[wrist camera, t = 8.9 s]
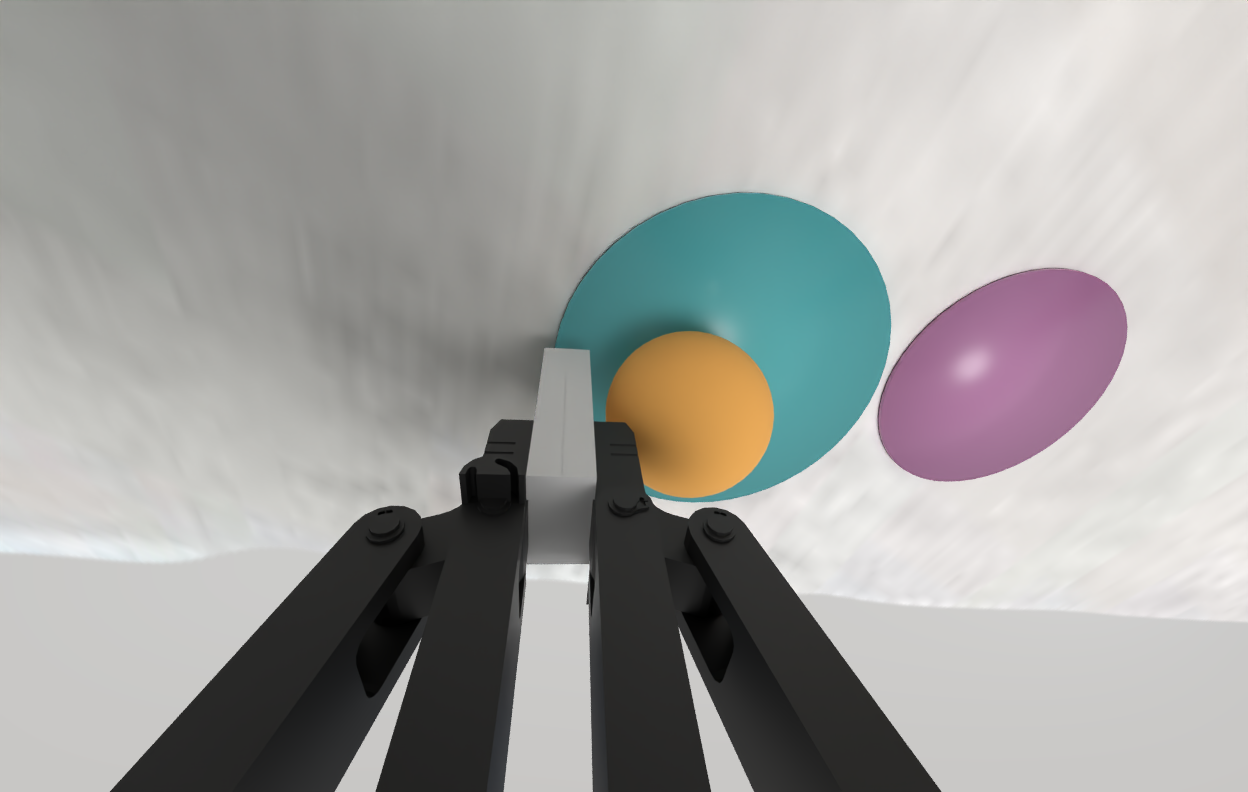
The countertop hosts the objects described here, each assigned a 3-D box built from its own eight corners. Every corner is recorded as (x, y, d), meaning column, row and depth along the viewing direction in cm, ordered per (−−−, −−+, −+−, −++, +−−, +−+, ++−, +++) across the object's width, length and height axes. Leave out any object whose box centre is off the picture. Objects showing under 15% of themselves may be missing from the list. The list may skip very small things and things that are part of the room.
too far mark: (940, 258, 16) (944, 259, 16) (1177, 278, 18) (1183, 279, 17) (845, 476, 21) (848, 479, 21) (1036, 480, 22) (1039, 483, 22)
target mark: (558, 172, 14) (557, 173, 14) (947, 212, 15) (951, 213, 15) (550, 497, 20) (549, 500, 20) (825, 500, 22) (827, 503, 22)
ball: (803, 380, 11) (793, 340, 16) (596, 327, 12) (646, 304, 17) (742, 557, 13) (749, 472, 18) (568, 497, 14) (620, 433, 19)
